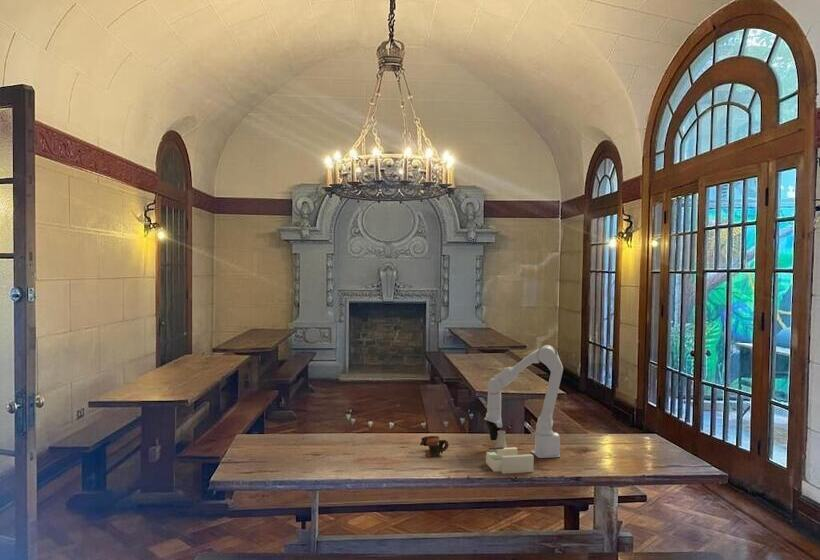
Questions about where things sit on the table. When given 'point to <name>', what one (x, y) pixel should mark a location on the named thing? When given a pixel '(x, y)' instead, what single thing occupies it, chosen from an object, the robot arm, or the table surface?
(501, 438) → the grey vase
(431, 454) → the pottery mug
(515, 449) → the pad
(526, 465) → the gauge frame
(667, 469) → the table surface
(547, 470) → the table surface
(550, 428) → the robot arm
